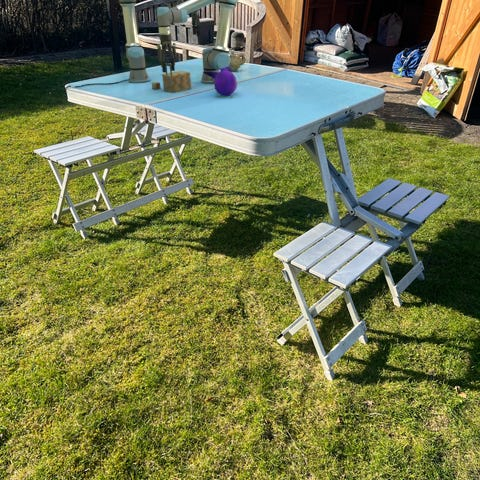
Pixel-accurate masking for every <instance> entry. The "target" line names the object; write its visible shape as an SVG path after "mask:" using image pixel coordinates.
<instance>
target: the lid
mask: <svg viewBox="0 0 480 480" xmlns="http://www.w3.org/2000/svg"><path fill="white" fill-rule="evenodd" d="M171 66H172V64H171V63H169V62H168V63H167V62H165V68H166V73H161V77H163V76H164V77H169V78H173V77H178V76H183V75H188V74H190V75H191V72H190V71H185V70H177V71H172V70H171ZM168 67H169V72H168Z"/></svg>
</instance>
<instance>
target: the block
mask: <svg viewBox="0 0 480 480" xmlns="http://www.w3.org/2000/svg"><path fill="white" fill-rule="evenodd" d="M151 88H152V90H154V91H157V90H161V89H162V88H161V82H158V81H154V82H151Z"/></svg>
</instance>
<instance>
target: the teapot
mask: <svg viewBox="0 0 480 480" xmlns="http://www.w3.org/2000/svg"><path fill="white" fill-rule="evenodd" d="M230 52H231V54H230V55H229V57H230V64H229V66H228V67H230V69H231V72H237V71H238V70H239V69H240V68H241V66H243V65H244V64H245V63H246V56H245V54H244V53H243V52H241V53H239V54H236V53H235V51H230ZM240 59H241V60H240Z"/></svg>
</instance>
